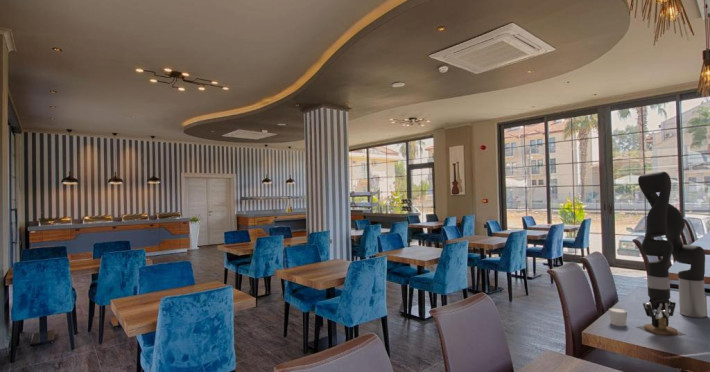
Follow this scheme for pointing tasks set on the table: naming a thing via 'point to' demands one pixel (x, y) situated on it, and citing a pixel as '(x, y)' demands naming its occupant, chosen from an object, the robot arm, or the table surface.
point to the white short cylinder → (618, 316)
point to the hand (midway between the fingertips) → (660, 326)
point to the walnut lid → (661, 328)
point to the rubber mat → (662, 335)
